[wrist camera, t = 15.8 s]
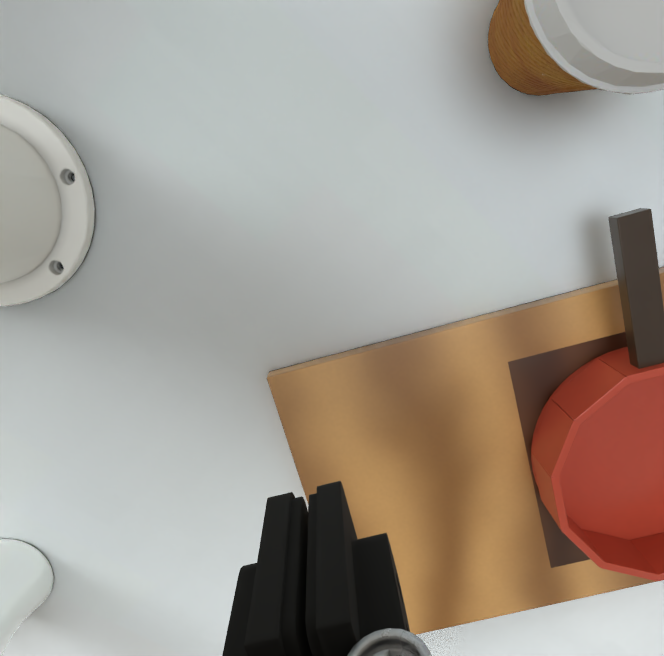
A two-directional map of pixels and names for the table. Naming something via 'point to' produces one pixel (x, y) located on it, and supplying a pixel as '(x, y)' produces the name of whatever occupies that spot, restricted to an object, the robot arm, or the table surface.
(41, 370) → the table surface
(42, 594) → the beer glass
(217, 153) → the table surface
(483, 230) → the table surface
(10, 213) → the robot arm
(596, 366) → the skillet
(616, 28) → the disposable coffee cup
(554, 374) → the board
